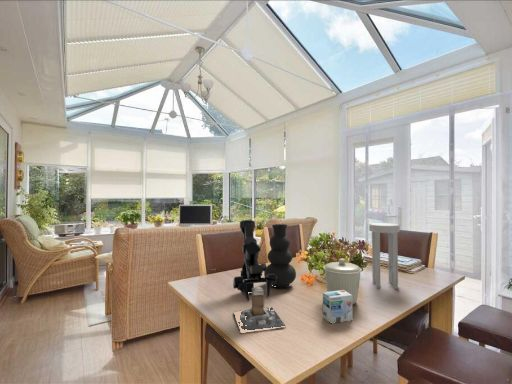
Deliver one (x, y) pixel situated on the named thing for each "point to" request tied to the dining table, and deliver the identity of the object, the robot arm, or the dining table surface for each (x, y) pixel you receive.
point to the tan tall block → (257, 301)
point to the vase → (280, 257)
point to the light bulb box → (337, 306)
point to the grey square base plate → (260, 319)
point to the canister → (343, 277)
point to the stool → (392, 251)
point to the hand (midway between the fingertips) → (258, 299)
